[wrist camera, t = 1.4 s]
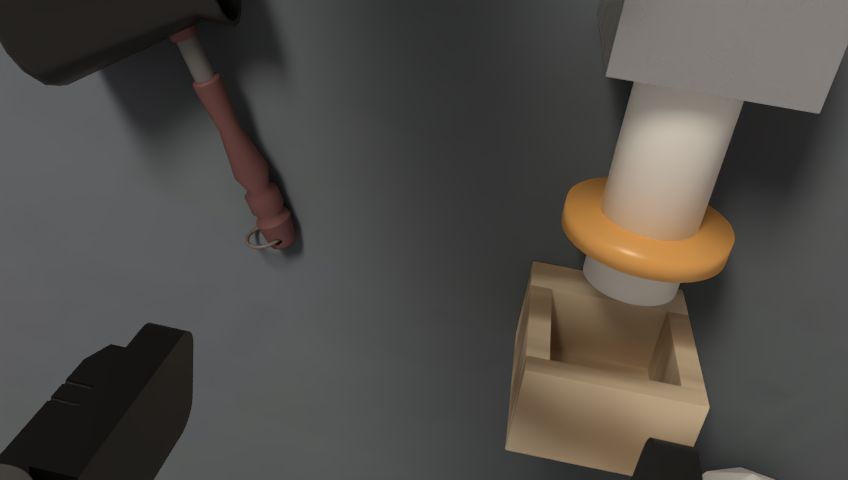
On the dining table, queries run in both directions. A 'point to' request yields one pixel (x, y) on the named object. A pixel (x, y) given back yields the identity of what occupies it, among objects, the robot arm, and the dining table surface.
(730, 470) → the geometric ball
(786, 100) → the grey block
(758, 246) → the dining table surface
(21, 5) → the coffee pot
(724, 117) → the tube
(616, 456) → the socket
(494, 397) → the dining table surface
